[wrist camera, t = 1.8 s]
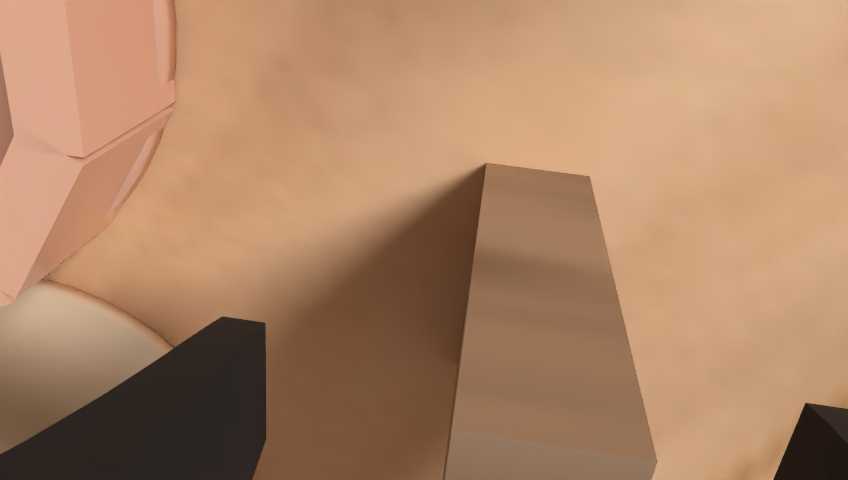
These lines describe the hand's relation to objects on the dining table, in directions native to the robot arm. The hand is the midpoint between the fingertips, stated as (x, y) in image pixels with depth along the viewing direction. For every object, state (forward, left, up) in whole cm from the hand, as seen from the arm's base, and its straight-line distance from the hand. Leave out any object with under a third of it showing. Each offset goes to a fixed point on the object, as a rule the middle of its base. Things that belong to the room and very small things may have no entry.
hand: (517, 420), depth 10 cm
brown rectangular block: (0, 0, -4) cm, 4 cm away
